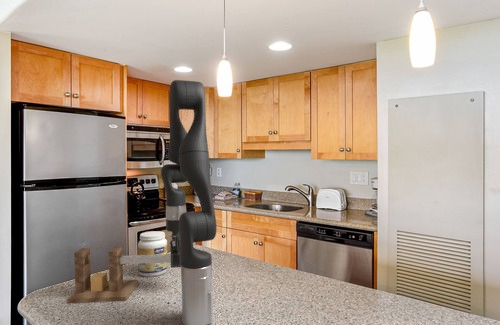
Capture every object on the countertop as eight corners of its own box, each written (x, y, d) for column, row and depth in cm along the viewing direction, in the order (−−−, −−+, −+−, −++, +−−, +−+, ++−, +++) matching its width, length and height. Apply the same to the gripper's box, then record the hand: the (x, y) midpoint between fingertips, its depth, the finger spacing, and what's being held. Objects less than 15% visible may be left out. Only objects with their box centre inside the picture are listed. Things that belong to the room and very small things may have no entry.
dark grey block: (182, 264, 127) (182, 243, 127) (181, 267, 124) (181, 245, 124) (116, 266, 125) (116, 245, 125) (114, 269, 122) (113, 247, 122)
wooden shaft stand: (138, 283, 132) (137, 243, 132) (126, 300, 116) (125, 255, 116) (86, 285, 131) (85, 244, 131) (67, 303, 115) (66, 257, 115)
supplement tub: (157, 279, 137) (156, 237, 136) (132, 276, 141) (131, 235, 140) (173, 269, 148) (172, 231, 148) (149, 266, 152) (148, 229, 152)
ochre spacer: (107, 272, 126) (96, 272, 126) (101, 277, 121) (90, 277, 121) (107, 285, 127) (97, 285, 126) (102, 290, 122) (91, 291, 121)
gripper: (183, 220, 118) (184, 269, 118) (188, 213, 132) (189, 257, 132) (162, 221, 118) (163, 269, 118) (169, 214, 132) (170, 257, 132)
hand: (177, 262), depth 125 cm, fingers closed on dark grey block, 3 cm apart
